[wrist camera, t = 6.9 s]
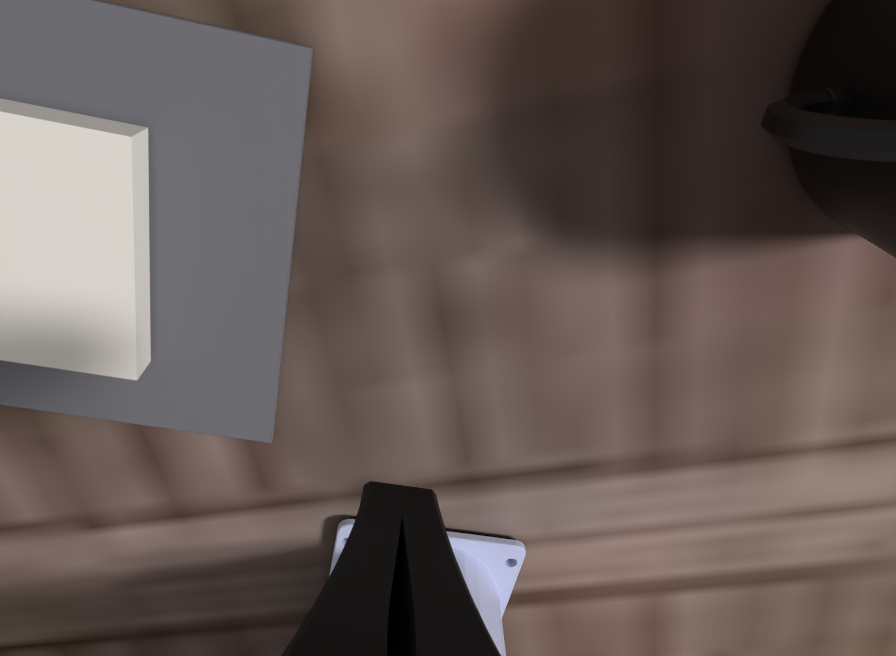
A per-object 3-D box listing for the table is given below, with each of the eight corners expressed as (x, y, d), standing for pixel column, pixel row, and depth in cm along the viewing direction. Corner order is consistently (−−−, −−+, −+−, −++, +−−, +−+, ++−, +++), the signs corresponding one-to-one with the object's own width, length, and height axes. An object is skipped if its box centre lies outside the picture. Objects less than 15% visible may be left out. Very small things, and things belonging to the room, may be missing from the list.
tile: (137, 380, 21) (-95, 345, 20) (153, 358, 22) (-65, 324, 22) (131, 136, 17) (-153, 81, 17) (150, 125, 19) (-114, 73, 18)
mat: (273, 436, 25) (271, 442, 24) (-96, 383, 23) (-104, 390, 23) (313, 46, 18) (311, 48, 18) (-199, -66, 17) (-213, -67, 16)
